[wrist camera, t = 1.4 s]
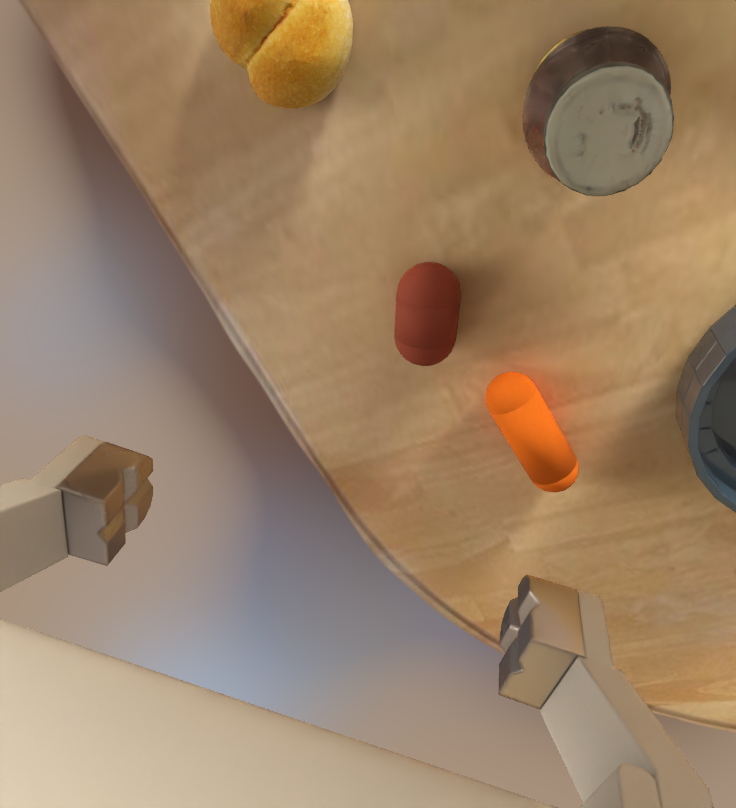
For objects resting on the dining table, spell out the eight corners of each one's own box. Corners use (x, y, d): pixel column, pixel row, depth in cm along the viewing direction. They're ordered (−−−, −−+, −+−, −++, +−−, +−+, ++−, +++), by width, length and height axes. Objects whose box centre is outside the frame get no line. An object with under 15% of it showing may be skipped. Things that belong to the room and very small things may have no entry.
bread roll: (293, 130, 41) (273, 139, 37) (203, 9, 38) (172, 8, 35) (386, 43, 37) (372, 44, 33) (292, -100, 34) (267, -113, 31)
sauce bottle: (661, 65, 34) (784, 98, 18) (590, 165, 38) (639, 269, 21) (565, 4, 34) (601, -19, 17) (503, 111, 37) (484, 176, 21)
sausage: (404, 250, 43) (392, 271, 40) (467, 256, 42) (461, 279, 39) (398, 345, 48) (387, 372, 44) (455, 352, 47) (449, 380, 43)
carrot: (478, 374, 47) (474, 400, 44) (524, 354, 46) (524, 380, 42) (541, 480, 51) (542, 510, 48) (586, 465, 50) (590, 496, 46)
